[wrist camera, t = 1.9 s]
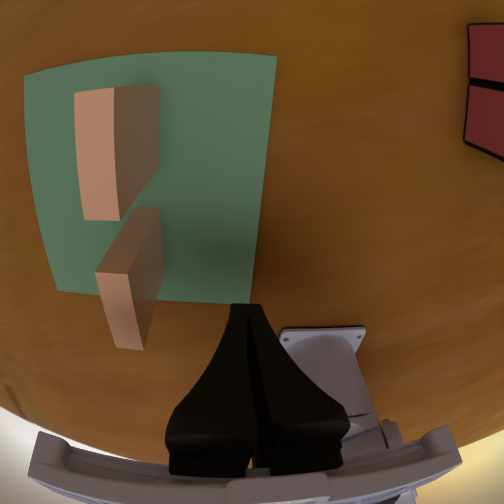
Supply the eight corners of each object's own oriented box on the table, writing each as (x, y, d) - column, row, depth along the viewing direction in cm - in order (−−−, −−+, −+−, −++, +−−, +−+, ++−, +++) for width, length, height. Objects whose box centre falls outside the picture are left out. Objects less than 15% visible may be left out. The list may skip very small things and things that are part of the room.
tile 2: (164, 273, 20) (143, 350, 14) (141, 272, 20) (113, 347, 14) (160, 207, 18) (127, 274, 12) (133, 207, 18) (91, 271, 12)
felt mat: (248, 299, 23) (249, 304, 22) (60, 286, 21) (57, 290, 21) (275, 57, 14) (277, 56, 13) (29, 75, 12) (24, 75, 12)
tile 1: (159, 169, 16) (119, 221, 10) (131, 169, 16) (81, 220, 10) (160, 85, 14) (114, 87, 8) (131, 87, 14) (70, 93, 8)
